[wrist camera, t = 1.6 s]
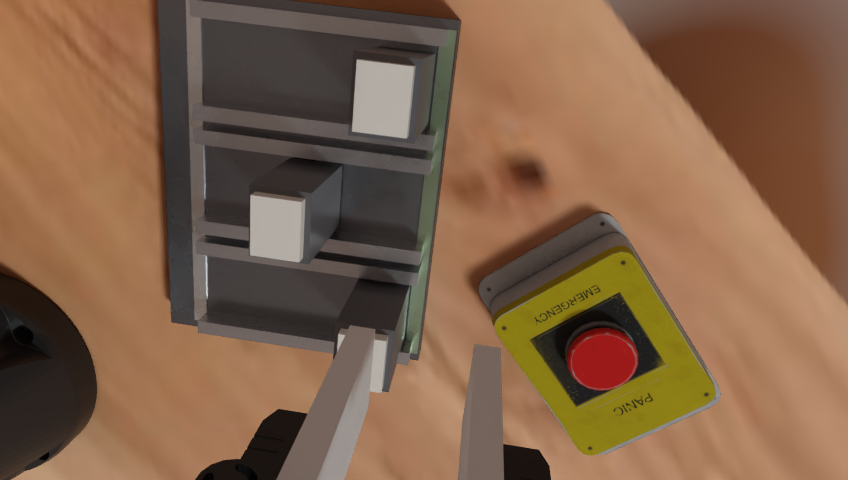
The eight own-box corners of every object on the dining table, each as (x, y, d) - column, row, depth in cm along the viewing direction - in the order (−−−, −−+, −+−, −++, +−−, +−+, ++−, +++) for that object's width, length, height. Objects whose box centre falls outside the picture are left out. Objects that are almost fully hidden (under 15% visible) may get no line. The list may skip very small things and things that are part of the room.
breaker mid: (288, 218, 35) (243, 260, 28) (290, 157, 33) (244, 187, 27) (338, 225, 34) (305, 269, 28) (342, 164, 33) (308, 196, 27)
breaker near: (373, 115, 32) (344, 137, 26) (378, 46, 31) (350, 51, 25) (428, 123, 32) (412, 146, 26) (436, 53, 31) (421, 59, 24)
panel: (182, 311, 40) (159, 333, 37) (171, -14, 33) (141, -17, 30) (420, 348, 38) (415, 373, 36) (461, 20, 32) (458, 20, 29)
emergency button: (621, 227, 30) (751, 438, 34) (606, 203, 35) (723, 393, 38) (469, 312, 33) (603, 501, 36) (471, 280, 37) (592, 453, 40)
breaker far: (356, 328, 37) (328, 389, 30) (360, 275, 35) (332, 327, 29) (404, 335, 36) (386, 399, 30) (410, 282, 35) (392, 336, 29)
